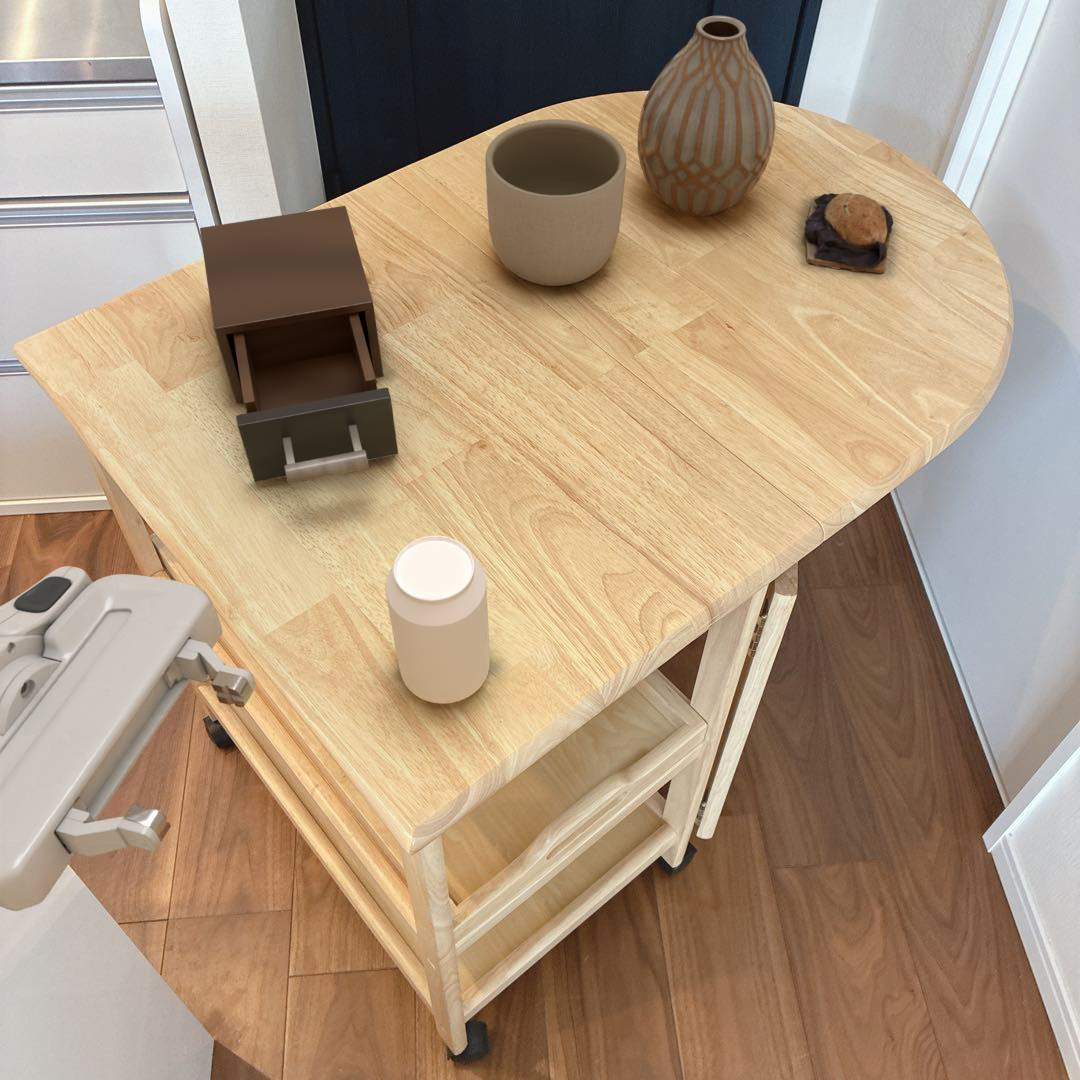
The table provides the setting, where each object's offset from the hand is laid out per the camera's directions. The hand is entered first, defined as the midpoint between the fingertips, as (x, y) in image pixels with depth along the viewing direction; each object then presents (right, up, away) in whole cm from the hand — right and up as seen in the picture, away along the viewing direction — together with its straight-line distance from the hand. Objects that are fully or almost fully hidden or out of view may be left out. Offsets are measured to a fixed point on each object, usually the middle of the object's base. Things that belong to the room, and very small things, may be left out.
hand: (207, 757), depth 57 cm
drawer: (0, +21, +28) cm, 35 cm away
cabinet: (-3, +30, +37) cm, 47 cm away
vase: (+34, +47, +51) cm, 77 cm away
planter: (+19, +39, +44) cm, 62 cm away
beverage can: (+12, +3, +16) cm, 20 cm away
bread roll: (+48, +42, +47) cm, 79 cm away
